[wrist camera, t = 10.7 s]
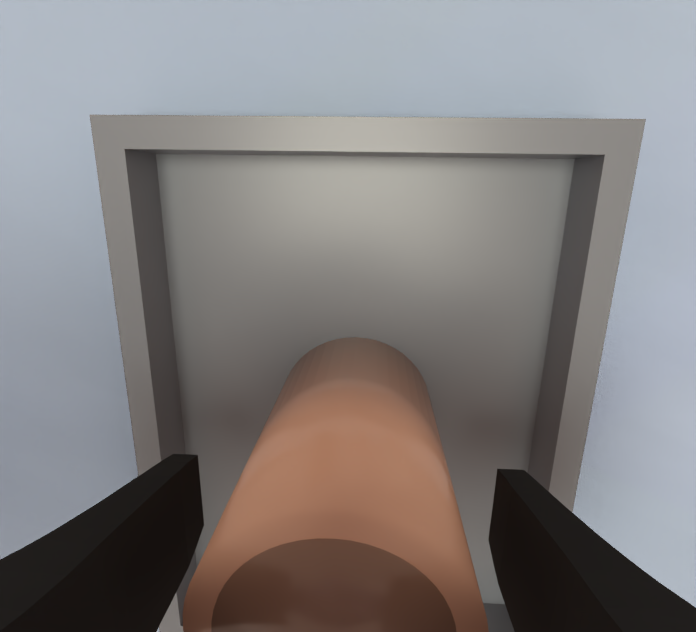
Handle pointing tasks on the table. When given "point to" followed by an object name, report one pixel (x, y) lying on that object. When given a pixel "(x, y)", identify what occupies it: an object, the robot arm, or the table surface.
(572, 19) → the table surface
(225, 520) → the cup
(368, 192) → the tray
